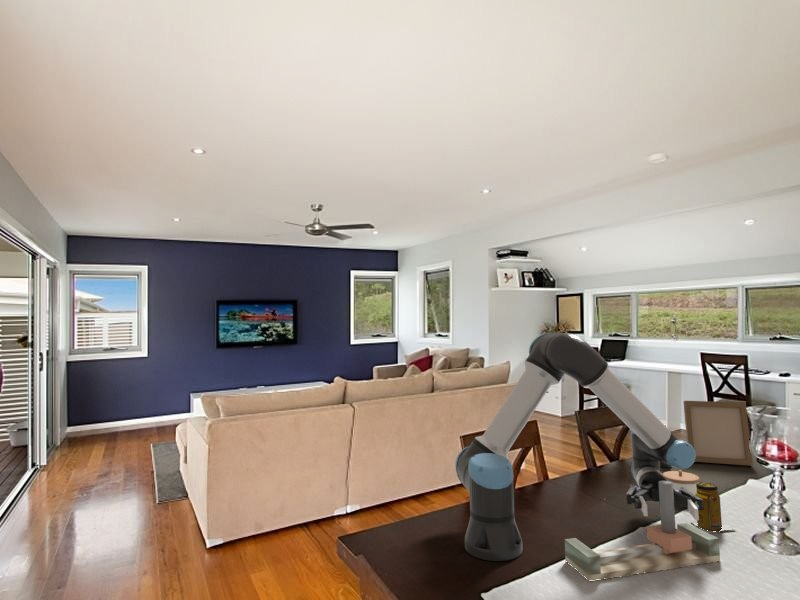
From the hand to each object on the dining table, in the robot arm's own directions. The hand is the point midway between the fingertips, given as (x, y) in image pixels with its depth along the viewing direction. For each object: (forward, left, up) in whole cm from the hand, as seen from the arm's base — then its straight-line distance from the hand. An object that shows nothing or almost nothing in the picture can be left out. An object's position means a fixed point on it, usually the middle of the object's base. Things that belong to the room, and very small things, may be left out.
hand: (670, 512), depth 119 cm
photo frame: (+84, +70, -13) cm, 110 cm away
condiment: (+27, +16, -13) cm, 34 cm away
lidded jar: (+36, +37, -13) cm, 53 cm away
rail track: (-6, +4, -12) cm, 14 cm away
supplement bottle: (+58, +71, -13) cm, 92 cm away
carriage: (+2, +4, -10) cm, 11 cm away
